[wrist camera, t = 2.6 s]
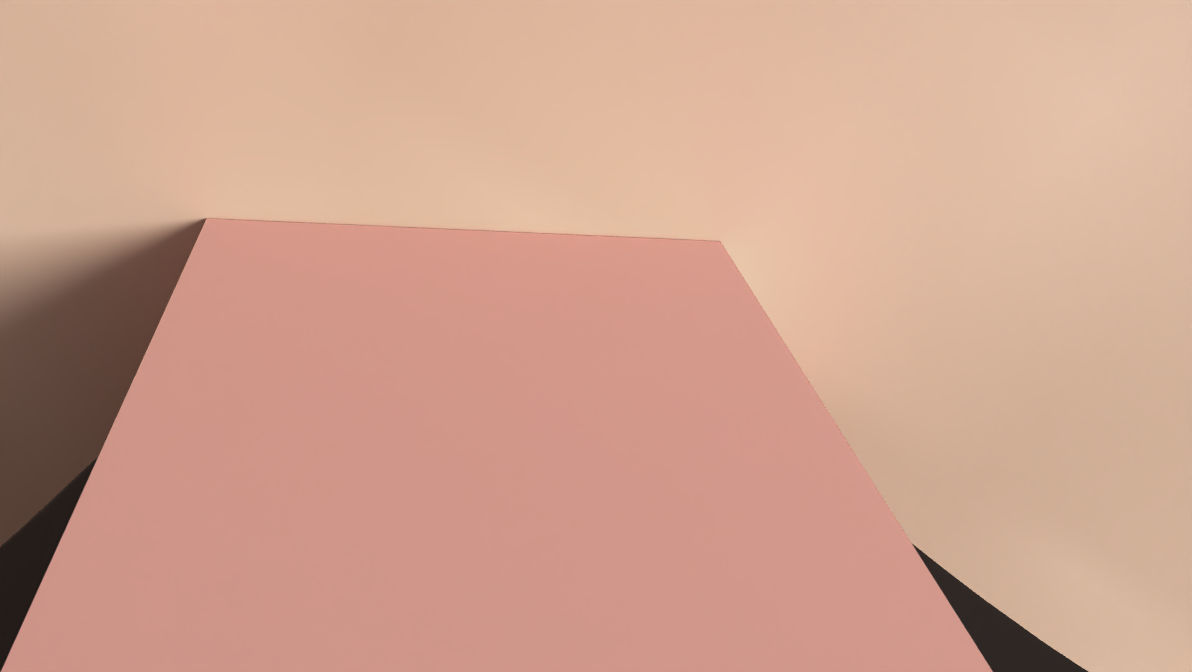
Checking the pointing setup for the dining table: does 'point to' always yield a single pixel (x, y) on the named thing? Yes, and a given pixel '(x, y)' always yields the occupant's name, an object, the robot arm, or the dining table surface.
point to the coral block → (477, 474)
